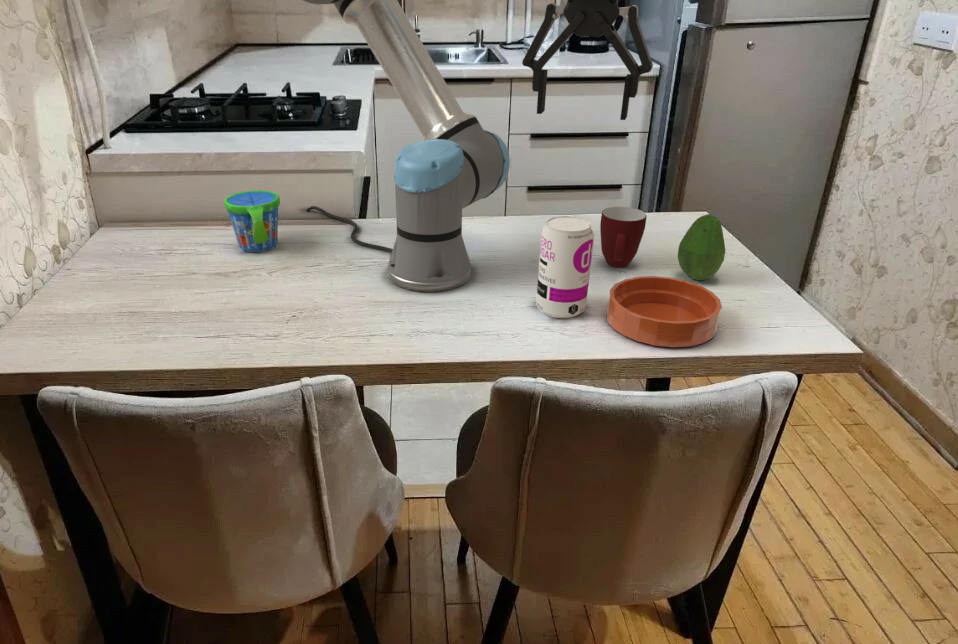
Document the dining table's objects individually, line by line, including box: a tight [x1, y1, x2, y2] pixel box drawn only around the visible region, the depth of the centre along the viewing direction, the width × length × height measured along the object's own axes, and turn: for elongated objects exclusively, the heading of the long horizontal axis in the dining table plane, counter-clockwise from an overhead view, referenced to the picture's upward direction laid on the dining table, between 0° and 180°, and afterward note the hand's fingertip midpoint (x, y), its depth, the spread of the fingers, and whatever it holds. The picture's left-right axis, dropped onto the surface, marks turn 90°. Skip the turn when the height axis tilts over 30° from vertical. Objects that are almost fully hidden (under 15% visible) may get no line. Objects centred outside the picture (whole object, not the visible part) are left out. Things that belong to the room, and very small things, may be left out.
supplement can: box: [535, 215, 595, 319], centre depth 118 cm, size 8×8×15 cm
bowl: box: [606, 275, 723, 348], centre depth 116 cm, size 17×17×4 cm
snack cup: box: [224, 189, 281, 253], centre depth 144 cm, size 16×10×10 cm
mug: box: [599, 206, 648, 269], centre depth 134 cm, size 10×8×10 cm
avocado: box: [677, 213, 726, 281], centre depth 129 cm, size 8×8×12 cm
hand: (581, 115), depth 119 cm, fingers open, 13 cm apart
